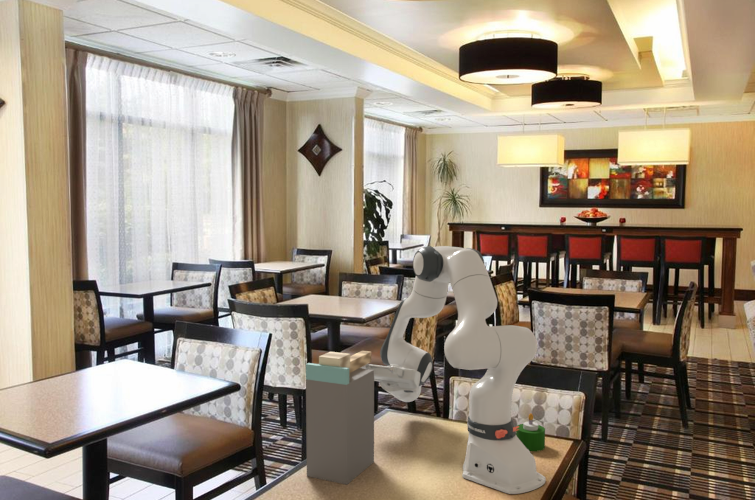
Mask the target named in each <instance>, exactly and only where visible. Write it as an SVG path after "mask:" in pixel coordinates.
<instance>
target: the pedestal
mask: <svg viewBox="0 0 755 500" xmlns="http://www.w3.org/2000/svg"><path fill="white" fill-rule="evenodd" d="M305 413H306V414H305V415H306V416H305V423H306V425H305V426H306V427H305V431H306V432H305V433H306V434H305V435H306V437H305V438H306V477H310V478H313V479H314V478H315V479H319V480H322V481H323V480H324V481H328V482H333V483H338V484H343V485H348V484H349V483H351V482H352V481H353V480H354V479H356V478H357V477H358V476H359V475H361V473H363V472H364V471H365V470H367V468H369V467H370V466H372V464H374V462H375V381H374V370H370V369H362V368H359V369H357V370H355V371H353V372H351V373H350V376H349V368H346V367H338V366H330V365H322V364H319V363H312V362H308V363H305Z"/></svg>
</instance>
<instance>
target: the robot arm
mask: <svg viewBox="0 0 755 500" xmlns="http://www.w3.org/2000/svg"><path fill="white" fill-rule="evenodd" d="M412 269H413V272H414V275H415V278H414V282H413V286H412V290H411V293H410V295H409V296H406V297H404V298H403V299H402V300H401V302H399V305H398V307H397V310H396V312H395V314H394V317H393V320H392V322H391V325H390V328H389V330H388V333H387V335H386V337H385V339H384V342H383V343H382V344H381V345H382V346H381V348H380V350H379V355H380V359H381V362H382V364H383V365H381V364H380V365H378V364H372V363H368V364H366V365H364V366H363V367H361V368H362V369H370V370H374V382H379V384H380V386H381V388H382V389H383V390H384V391H386V392H387V393H389V394H390V395H392V396H393V397H394V398H395V399H397V400H399V401H402V402H405V403H410V402H413V401H416V400H417V399H418V398H419V397H420V395H421V392H422V386H423V385H424V384H425V383H426V382H427V380H428V379H429V378H430V376H431V375H432V372H433V368H434V363H433V357H432V355H431V354H430V352H428V351H426V350H424V349H421V348H420V347H418V346H416V345H413V344H411V343H410V342H407V341H406V340H405V339H404V335H405V332H406V329H407V326H408V324H409V321H410V319H412V318H413V319H414V318H415V319H417V318H418V319H425V318H431V317H434V316H437V315H438V314H440V313H441V311H442V310H443V309H444V307H445V305H446V302H447V296H448V291H449V285H451V289H452V293H453V297H454V300H455V303H456V309H457V321H456V325H455V326H454V328H453V329H452V331H451V332H449V334H448V335H447V337H446V339H445V341H444V346H443V347H444V348H443V349H444V351H443V352H444V356H445V358H446V359H445V360H446V361H447V362H448V363H449V365H450V366H451V367H453V368H454V369H460V370H461V369H462V370H467V371H468V370H469V371H475V370H476V371H477V370H484V369H487V370H486V372H485V374H484V375H483V376H482V377H481V378H480V379H479V380H477V381H475V383H473V385H472V386H471V387H470V391H469V403H470V412H469V411H468V412H469V413H468V417H467V432H468V439H467V442H466V443H467V444H466V451H465V452H466V453H465V458H464V462H463V464H462V475H461V476H462V478H463V479H466V480H469V481H471V482H474V483H477V484H480V485H483V486H486V487H489V488H492V489H494V490H497V491H499V492H502V493H504V494H510V495H517V494H523V493H528V492H531V491H534V490H536V489H538V488H541V487H542V486H543V485H545V484H546V481H547V480H546V476H544V475H543V474H541V473H540V472H538V471H537V464H536V458H535V456H534V455H533V454H532V453H531V452H530V451H529V450H528V449H527V448H526V447H525V446H524V444H523V443H522V442H521V441H520V440H519V438H518V437H517V436H516V431H517V430H519V429H517V428H518V427H519V426H517V425H516V426H515V424H514V420H513V418H512V404H513V393H514V388H515V385H516V382H517V380H518V379H519V376H520V375H521V373H522V371H523V370H524V369H525V367H526V366H527V365H529V363H531V362H532V361H533V360H534V358H535V357H536V355H537V350H538V342H537V337H536V336H535V334H534V333H533V331H532V330H531V329H530V328H528V327H526V326H519V325H512V324H511V325H510V324H508V325H494V326H493V325H491V326H489V325H488V324H487V321H486V319H488V318H490V317H491V315H493V313H494V312H496V309H497V307H498V298H497V295H496V291H495V289H494V286H493V283H492V280H491V278H490V275H489V272H488V270H487V267H486V266H485V260H484V257H483V255H482V253H481V252H480V251H479V250H477V249H475V248H472V247H471V248H470V247H466V248H464V247H458V246H450V245H439V246H438V245H437V246H431V245H428V246H423V247H420V248H418V249H417V250H416V252H415V254H414V256H413V260H412Z"/></svg>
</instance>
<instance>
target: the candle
mask: <svg viewBox="0 0 755 500" xmlns="http://www.w3.org/2000/svg"><path fill="white" fill-rule="evenodd" d="M527 419H528V421H524V422H523V423H519V424H517V425H516V426H519V427H518V428H517V429H519V430H517V431H516V436H517V437H518V438H519V440H520V441H521V442H522V443H523V444H524V446H525V447H526V448H527V449H528V450H529V451H530V453H531V452H533V453H536V452H541V451H543V450H545V447H546V445H545V444H546V428H545V427H544V426H542V425H539V424H538V422H535V421H533V420H534V415H533V413H529V414H528V417H527Z"/></svg>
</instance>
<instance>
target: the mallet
mask: <svg viewBox="0 0 755 500" xmlns="http://www.w3.org/2000/svg"><path fill="white" fill-rule="evenodd" d="M371 363H372V351H368V350H360V351H359V352H357V353H354V354H352V355H351V353H345V352H337V351H336V352H335V351H329V352H326V353H324V354H322V355H319V356H318V364H322V365H330V366H338V367H346V368H349V376H350V373H351V372H353V371H355V370H357V369H359V368H361V367H363V366H364V365H366V364H371Z"/></svg>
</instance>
